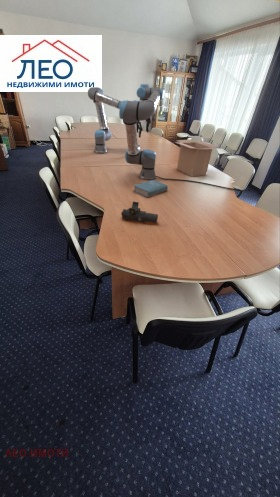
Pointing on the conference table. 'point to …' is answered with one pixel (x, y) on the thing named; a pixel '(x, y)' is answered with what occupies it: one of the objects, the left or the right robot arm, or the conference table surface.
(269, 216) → the conference table surface
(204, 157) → the box
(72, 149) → the conference table surface
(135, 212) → the laser sight
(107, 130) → the left robot arm
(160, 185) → the book
